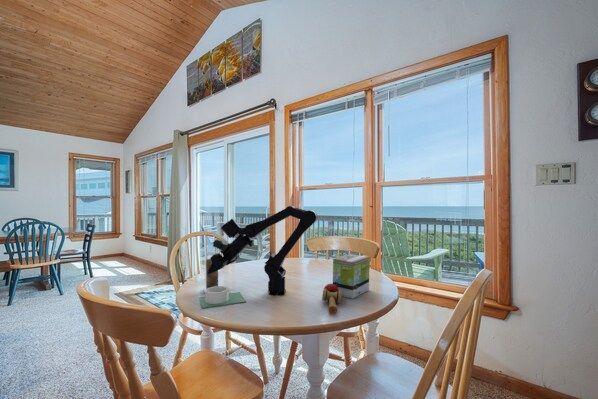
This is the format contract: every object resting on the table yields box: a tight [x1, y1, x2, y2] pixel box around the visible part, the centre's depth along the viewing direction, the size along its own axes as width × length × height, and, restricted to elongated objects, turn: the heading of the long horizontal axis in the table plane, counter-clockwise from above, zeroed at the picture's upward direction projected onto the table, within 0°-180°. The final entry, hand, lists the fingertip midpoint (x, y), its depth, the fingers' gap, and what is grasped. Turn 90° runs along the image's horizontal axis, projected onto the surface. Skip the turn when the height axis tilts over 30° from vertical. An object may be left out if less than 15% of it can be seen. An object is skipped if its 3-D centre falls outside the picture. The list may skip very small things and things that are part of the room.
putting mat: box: [198, 285, 247, 309], centre depth 109 cm, size 16×12×4 cm
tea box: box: [332, 253, 370, 300], centre depth 119 cm, size 15×10×15 cm, turn 143°
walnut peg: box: [205, 258, 219, 290], centre depth 123 cm, size 5×5×13 cm
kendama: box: [321, 283, 342, 315], centre depth 105 cm, size 8×6×18 cm
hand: (213, 270), depth 123 cm, fingers open, 9 cm apart
